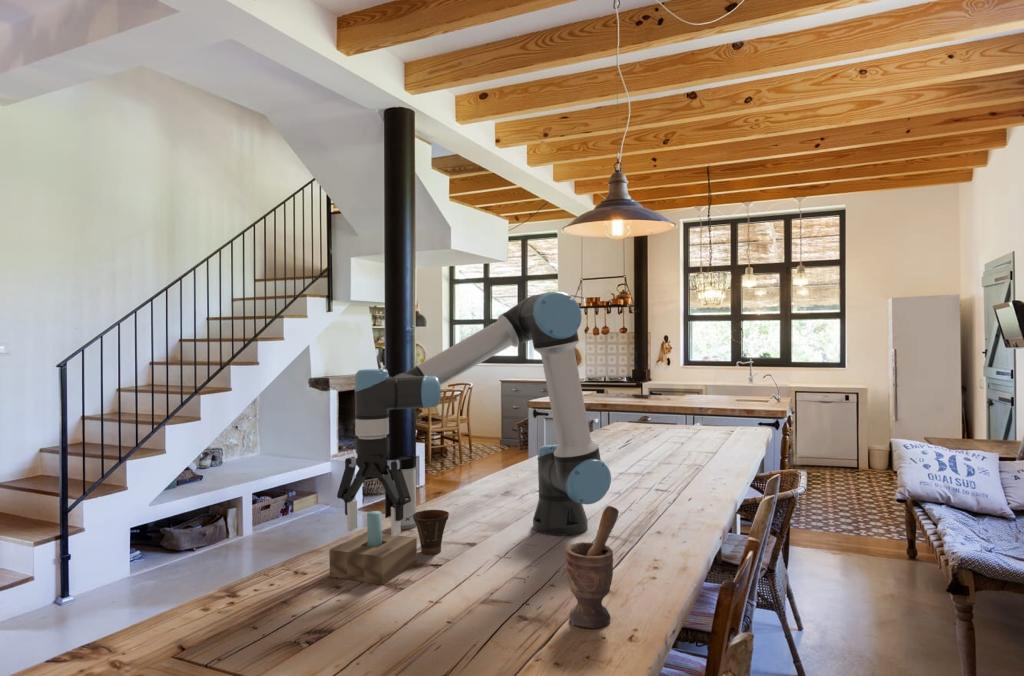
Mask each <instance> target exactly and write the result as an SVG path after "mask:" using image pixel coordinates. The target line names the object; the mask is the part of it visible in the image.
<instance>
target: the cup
mask: <svg viewBox="0 0 1024 676" xmlns="http://www.w3.org/2000/svg"><path fill="white" fill-rule="evenodd" d="M449 515H450V512H448V511H447V510H445V509H444V510H443V509H425V510H421V511H416V513H415V514H413V519H414V521H415V524H416V526H415V527H416V530H417V532H418V537H419V543H420V553H422V554H423V555H436V554H439V553H441V552H442V542H443V536H444V531H445V528H446V524H447V521H448V519H449V517H450V516H449Z"/></svg>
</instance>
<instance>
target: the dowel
mask: <svg viewBox="0 0 1024 676" xmlns="http://www.w3.org/2000/svg"><path fill="white" fill-rule="evenodd" d="M366 514H367V515H366V518H367V519H366V521H367V522H366V523H367V524H366V527H367V531H366V532H367V543H368V546H369V547H376V548H377V547H379V546H381V545H382V534H383V532H382V528H383V527H382V525H383V524H382V523H383V522H382V520H383V519H382V511H380V510H371V511H368V512H367V513H366Z"/></svg>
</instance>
